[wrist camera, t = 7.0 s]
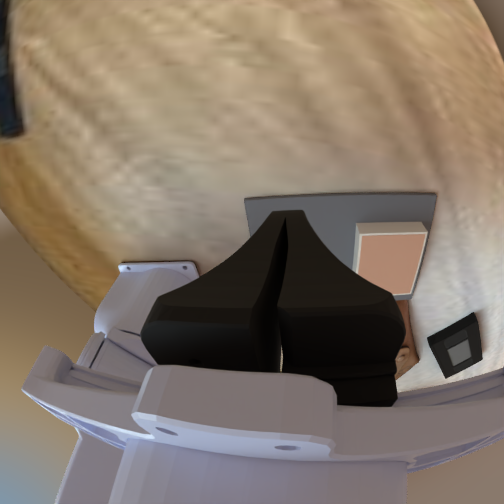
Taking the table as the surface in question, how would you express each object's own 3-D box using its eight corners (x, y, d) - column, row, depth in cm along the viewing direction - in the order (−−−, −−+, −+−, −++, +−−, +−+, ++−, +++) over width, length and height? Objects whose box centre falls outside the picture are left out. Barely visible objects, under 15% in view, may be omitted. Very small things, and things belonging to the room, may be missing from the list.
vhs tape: (472, 309, 26) (477, 320, 25) (479, 350, 31) (482, 359, 30) (426, 334, 30) (429, 346, 28) (443, 369, 35) (445, 378, 34)
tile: (352, 298, 24) (411, 294, 23) (359, 234, 20) (428, 232, 19) (350, 285, 25) (406, 282, 24) (356, 223, 21) (421, 221, 20)
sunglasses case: (423, 362, 33) (408, 401, 30) (384, 355, 38) (368, 392, 35) (406, 289, 25) (386, 346, 22) (350, 286, 31) (326, 334, 27)
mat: (263, 302, 29) (263, 305, 28) (244, 198, 22) (244, 200, 21) (410, 296, 26) (411, 299, 25) (434, 193, 19) (436, 195, 18)
